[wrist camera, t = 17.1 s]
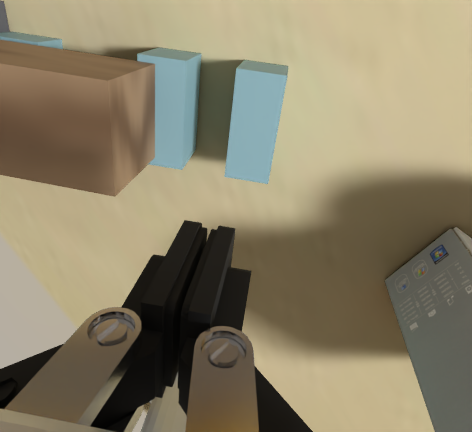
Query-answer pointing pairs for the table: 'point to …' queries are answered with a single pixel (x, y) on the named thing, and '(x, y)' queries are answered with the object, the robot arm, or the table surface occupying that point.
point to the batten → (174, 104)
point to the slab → (75, 117)
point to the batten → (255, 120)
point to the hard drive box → (439, 326)
